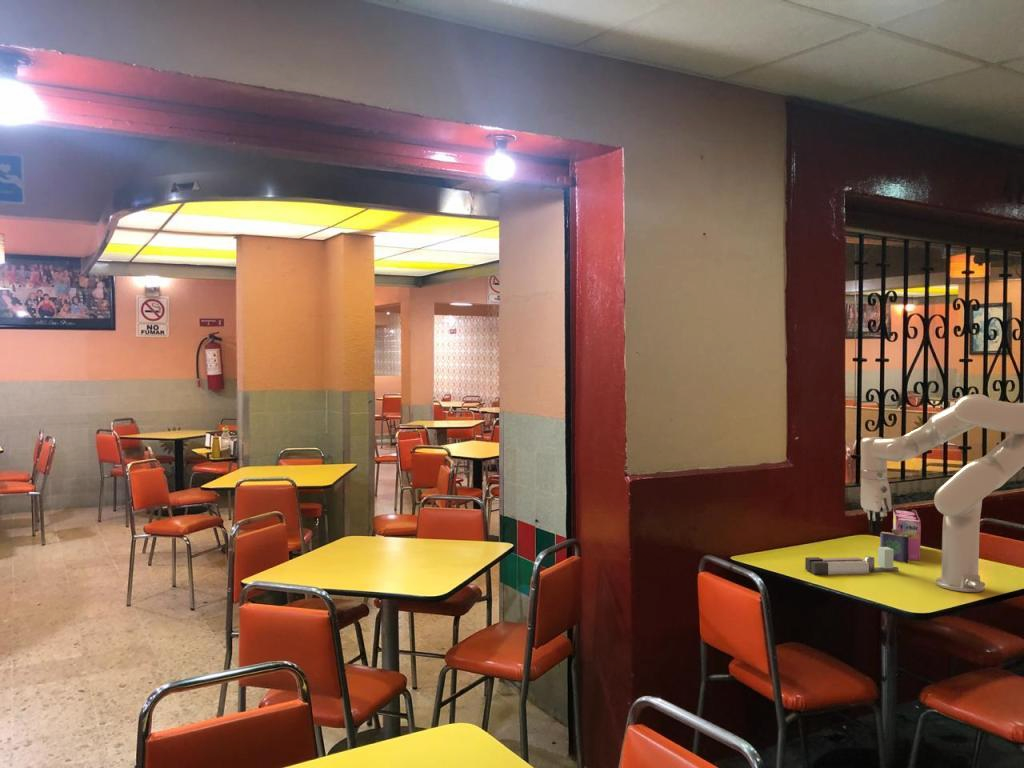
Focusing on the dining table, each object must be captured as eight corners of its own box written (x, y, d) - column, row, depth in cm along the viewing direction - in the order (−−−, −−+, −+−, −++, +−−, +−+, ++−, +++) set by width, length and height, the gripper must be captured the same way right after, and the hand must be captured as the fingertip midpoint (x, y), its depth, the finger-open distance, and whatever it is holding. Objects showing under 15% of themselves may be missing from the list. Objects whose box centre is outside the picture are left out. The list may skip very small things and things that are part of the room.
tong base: (903, 573, 244) (903, 559, 244) (814, 575, 240) (815, 561, 240) (894, 569, 248) (894, 555, 248) (807, 571, 245) (807, 557, 245)
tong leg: (863, 570, 246) (863, 558, 246) (809, 571, 244) (809, 559, 243) (858, 567, 248) (858, 556, 248) (805, 569, 246) (805, 557, 246)
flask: (878, 558, 263) (879, 527, 263) (882, 556, 265) (883, 525, 265) (906, 563, 256) (907, 531, 256) (910, 562, 258) (911, 530, 258)
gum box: (892, 544, 284) (892, 507, 284) (916, 546, 281) (916, 509, 281) (894, 558, 263) (895, 519, 262) (920, 561, 259) (921, 521, 259)
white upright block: (893, 568, 245) (893, 549, 245) (884, 568, 244) (884, 549, 244) (886, 565, 248) (887, 546, 248) (878, 565, 248) (878, 547, 248)
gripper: (899, 477, 239) (901, 536, 239) (870, 472, 254) (872, 527, 254) (877, 478, 238) (879, 537, 238) (849, 473, 253) (851, 528, 253)
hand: (875, 532), depth 246 cm, fingers closed
